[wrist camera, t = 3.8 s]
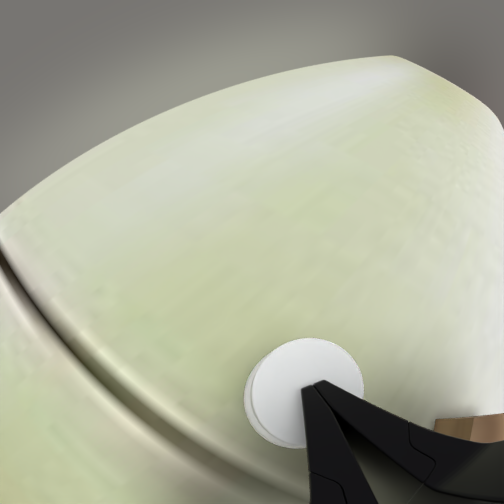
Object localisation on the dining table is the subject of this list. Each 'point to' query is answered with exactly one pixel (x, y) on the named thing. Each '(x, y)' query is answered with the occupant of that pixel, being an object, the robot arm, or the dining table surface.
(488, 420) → the walnut block
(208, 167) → the dining table surface
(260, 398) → the supplement bottle
